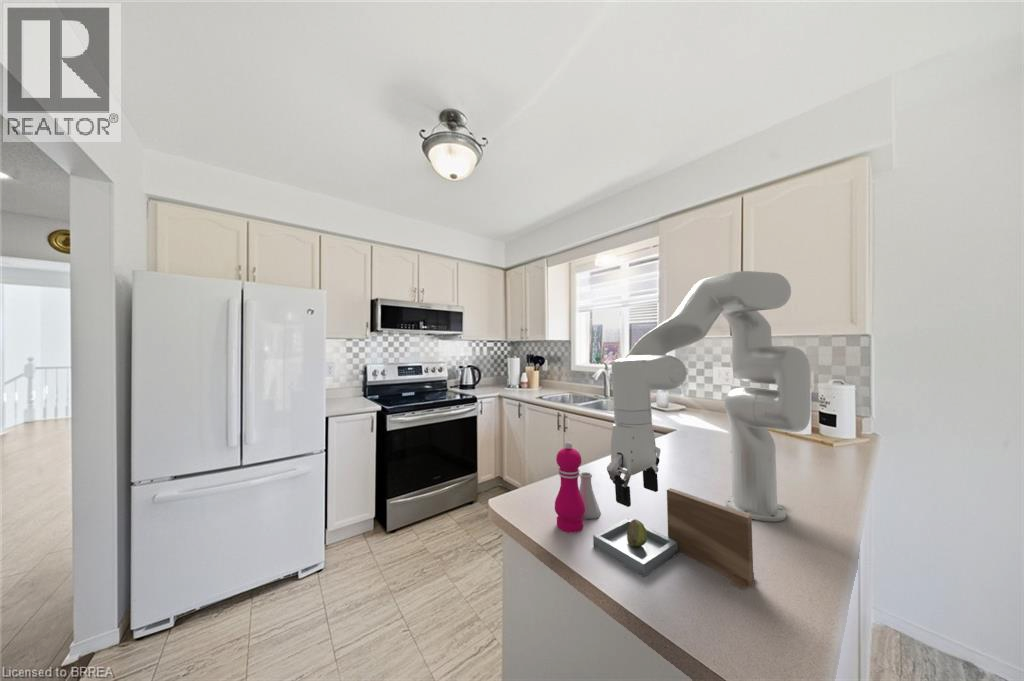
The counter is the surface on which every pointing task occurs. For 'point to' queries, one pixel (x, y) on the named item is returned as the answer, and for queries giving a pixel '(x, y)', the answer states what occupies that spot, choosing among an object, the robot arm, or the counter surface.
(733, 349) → the robot arm
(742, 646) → the counter surface
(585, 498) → the flask
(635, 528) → the lime
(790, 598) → the counter surface
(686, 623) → the counter surface
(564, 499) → the pepper mill
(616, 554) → the slate dish
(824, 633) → the counter surface
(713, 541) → the walnut board
